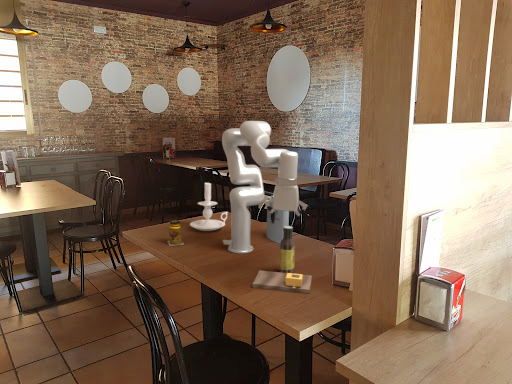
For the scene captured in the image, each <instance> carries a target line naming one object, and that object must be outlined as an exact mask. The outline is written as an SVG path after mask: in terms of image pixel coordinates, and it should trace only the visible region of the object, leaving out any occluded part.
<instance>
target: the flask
mask: <svg viewBox="0 0 512 384" xmlns="http://www.w3.org/2000/svg"><path fill="white" fill-rule="evenodd" d="M273 197H274V195H270V196H268V197H267V200H270V199H272V198H273ZM269 205H270V206H271V208H273V202H271V203H269ZM266 211H267V212H266V213H267V214H266V235H265V236H266V238H267V239H269V240H270V241H272V242H274V243H277V244H279V245H280V243H281V241H282V239H283V235H284V231H283V227H284V226H289V222H290V221H289V220H290V219H289V218H290V211H282V210H275V221H274V223H272V220H271V213H270V211H269V210H268V209H267V208H266Z"/></svg>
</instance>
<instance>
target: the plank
mask: <svg viewBox="0 0 512 384" xmlns="http://www.w3.org/2000/svg"><path fill="white" fill-rule="evenodd" d="M286 276H287V273H281V272H280V271H279V272H278V271H269V270H258V272H257V275H256V276H255V278H254V280H253V281H252V285H251V286H252V288H254V289H256V288H257V289H265V290H273V291H280V292H281V291H283V292H292V293H299V294H300V293H301V294H310V291H311V285H312V279H313V277H312V276H313V275H310V274H303V277H302V285H301V287H298V286H289V285H286Z"/></svg>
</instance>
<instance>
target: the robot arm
mask: <svg viewBox="0 0 512 384" xmlns="http://www.w3.org/2000/svg"><path fill="white" fill-rule="evenodd" d="M271 133H272V129H271V126H270V124H269V122H267V121H265V120H264V121H263V120H246V121H244V122H242V123H241V124H240V126H239V128H238V127H233V128H228V129H226V130H225V131H223V133H222V137H221V144H222V147H223V148H222V149H223V151H224V154H225V157H226V159H227V168H228V174H229V180H230V183H231V184H233V185H248V186H238V187H235V188H232V189H231V191H230V192H229V202H230V215H231V218H230V220H231V222H230V225H231V226H230V227H231V228H230V230H231V231H230V232H231V233H230V239H228V240H227V239H222V243H223V245H225V246H227V251H229V252H230V253H235V254H249V253H251V252H252V251H253V250H254V247H253V245H251V226H252V223H251V222H252V220H251V218H252V217H251V216H252V215H251V212H250V211H249V209H248V208H247V207H249V206H250V207H251V206H259V205H262V204H263V203H264V204H265V207H266V210H267V209H268V210H269V211H270V213H271V220H272V223H274V221H275V210H282V211H289V212H294V213H295V221H294V222H295V224H294V226H298V224H299V223H300V219H301V218H300V216H301V215H302V214H303V213H304V212H305V211H306V209H307V207H308V204H306V203H305V202H303V201H301V200H300V197H299V196H300V195H299V193H300V191H299V187H298V185H297V182H298V181H297V180H298V164H299V162H298V161H299V154H298V152H297V151H294V150H293V151H292V150H291V151H290V150H288V149H285V148H267V147H268V146H269V144H270V136H271ZM244 146H245V147H248V146H249V147H250V153H251V154H250V155H251V158H252V159H253V161H255V163H256V164H257V165H258V166H257V165H256V164H246V160H245V156H244V153H243V151H242V150H241V149H240V148H239V147H244ZM259 166H260V167H261V168H266V169H268V168H278V170H277V171H278V173H277V178H274V179H273V182H275V183H276V184H275V186H274V191H273V196H274V197H273V198H272V199H270V200H268V199H267V200H266V201H265V189H264V182H263V177H262V171H261V169H260V168H259ZM249 185H250V186H249ZM271 202H273V208H271V206H270V205H269V203H271ZM299 206H301V207H302V208H301V209H299Z"/></svg>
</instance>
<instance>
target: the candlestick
mask: <svg viewBox="0 0 512 384" xmlns="http://www.w3.org/2000/svg"><path fill="white" fill-rule="evenodd" d="M204 199H205V200H204V201H199V202H197V205H200V206H203V207H204V209H203V210H202V216H203V217H204V218H205V219H197V220H193V221H191V222H190V223H189V226H190V227H192V228H194V229H195V230H198V231H203V232H212V231H217V230H219V229H221V228H223V227H224V226H226V223H225V222H226V220H227V219H228V213H229V211H225V212H222V213H221V214H220V219H221V220H219V219H211V217H212V216H213V210H212V206H216V205H218V202H217V201H213V200H212V183H210V182H204ZM211 200H212V201H211ZM223 215H225V218H223ZM222 220H223V221H222Z"/></svg>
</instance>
